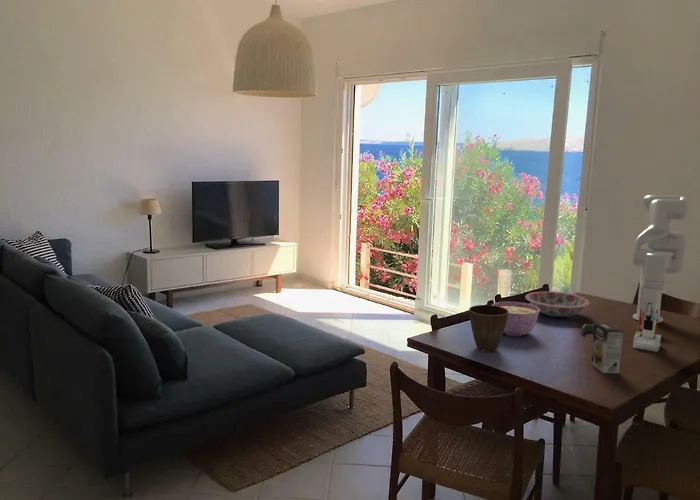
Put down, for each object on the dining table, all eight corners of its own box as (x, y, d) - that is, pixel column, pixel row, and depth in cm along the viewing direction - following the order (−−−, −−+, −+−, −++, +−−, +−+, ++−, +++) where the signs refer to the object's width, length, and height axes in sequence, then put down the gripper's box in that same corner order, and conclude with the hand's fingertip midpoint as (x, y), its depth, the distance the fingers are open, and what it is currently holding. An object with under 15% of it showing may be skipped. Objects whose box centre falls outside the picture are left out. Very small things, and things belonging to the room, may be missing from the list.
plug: (642, 334, 240) (646, 310, 239) (653, 336, 238) (657, 312, 237) (641, 337, 237) (645, 313, 235) (652, 339, 235) (656, 315, 233)
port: (635, 341, 245) (636, 331, 244) (659, 345, 240) (661, 335, 239) (632, 347, 237) (633, 337, 236) (657, 352, 232) (658, 341, 232)
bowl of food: (548, 336, 250) (550, 310, 248) (514, 343, 240) (516, 316, 238) (512, 324, 267) (514, 299, 265) (480, 330, 256) (481, 305, 254)
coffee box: (590, 364, 218) (593, 322, 215) (606, 364, 219) (610, 322, 216) (602, 373, 209) (606, 329, 206) (619, 373, 210) (624, 329, 207)
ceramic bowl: (515, 316, 280) (516, 300, 278) (535, 303, 303) (536, 288, 302) (579, 327, 263) (581, 310, 262) (594, 313, 287) (596, 297, 285)
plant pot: (486, 358, 223) (488, 317, 220) (459, 346, 235) (461, 307, 233) (514, 351, 231) (516, 311, 228) (486, 340, 243) (488, 303, 240)
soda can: (657, 335, 253) (660, 308, 251) (640, 334, 255) (643, 307, 252) (653, 330, 260) (655, 304, 258) (635, 329, 261) (638, 303, 259)
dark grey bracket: (584, 330, 259) (584, 323, 259) (601, 333, 255) (601, 326, 255) (581, 334, 253) (581, 327, 253) (598, 337, 250) (599, 330, 249)
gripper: (645, 279, 243) (640, 322, 246) (640, 286, 229) (635, 331, 232) (665, 281, 239) (660, 325, 242) (661, 289, 225) (656, 335, 228)
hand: (648, 327), depth 237 cm, fingers closed on plug, 4 cm apart
